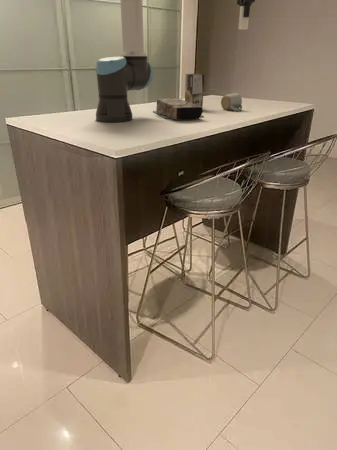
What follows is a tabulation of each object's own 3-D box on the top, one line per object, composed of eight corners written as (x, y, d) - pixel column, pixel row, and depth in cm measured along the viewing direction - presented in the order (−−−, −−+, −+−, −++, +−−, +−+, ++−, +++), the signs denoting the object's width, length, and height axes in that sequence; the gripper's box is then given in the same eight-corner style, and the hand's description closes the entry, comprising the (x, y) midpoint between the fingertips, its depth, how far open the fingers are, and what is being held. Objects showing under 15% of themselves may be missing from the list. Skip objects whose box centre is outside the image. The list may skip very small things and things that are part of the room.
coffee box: (203, 109, 172) (204, 74, 165) (191, 109, 170) (192, 74, 163) (195, 106, 180) (196, 73, 173) (184, 107, 178) (185, 73, 171)
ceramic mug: (219, 109, 172) (220, 93, 169) (230, 108, 177) (232, 92, 173) (233, 112, 165) (235, 95, 161) (245, 111, 169) (247, 94, 165)
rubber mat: (165, 118, 145) (165, 117, 144) (152, 111, 162) (152, 110, 161) (204, 117, 150) (204, 116, 149) (188, 110, 167) (188, 109, 166)
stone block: (176, 103, 136) (156, 96, 152) (174, 121, 139) (154, 112, 155) (204, 105, 142) (182, 99, 158) (201, 123, 145) (179, 114, 161)
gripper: (274, -66, 98) (263, 28, 109) (251, -54, 109) (243, 30, 120) (251, -69, 96) (242, 27, 107) (230, -56, 107) (224, 30, 118)
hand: (243, 29), depth 113 cm, fingers closed
